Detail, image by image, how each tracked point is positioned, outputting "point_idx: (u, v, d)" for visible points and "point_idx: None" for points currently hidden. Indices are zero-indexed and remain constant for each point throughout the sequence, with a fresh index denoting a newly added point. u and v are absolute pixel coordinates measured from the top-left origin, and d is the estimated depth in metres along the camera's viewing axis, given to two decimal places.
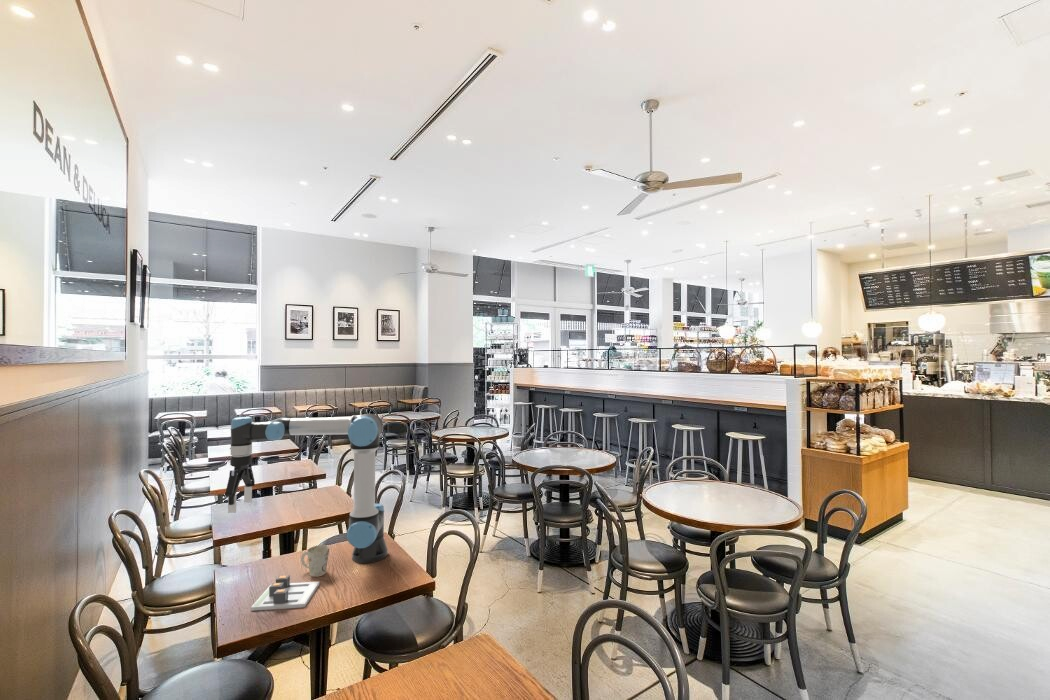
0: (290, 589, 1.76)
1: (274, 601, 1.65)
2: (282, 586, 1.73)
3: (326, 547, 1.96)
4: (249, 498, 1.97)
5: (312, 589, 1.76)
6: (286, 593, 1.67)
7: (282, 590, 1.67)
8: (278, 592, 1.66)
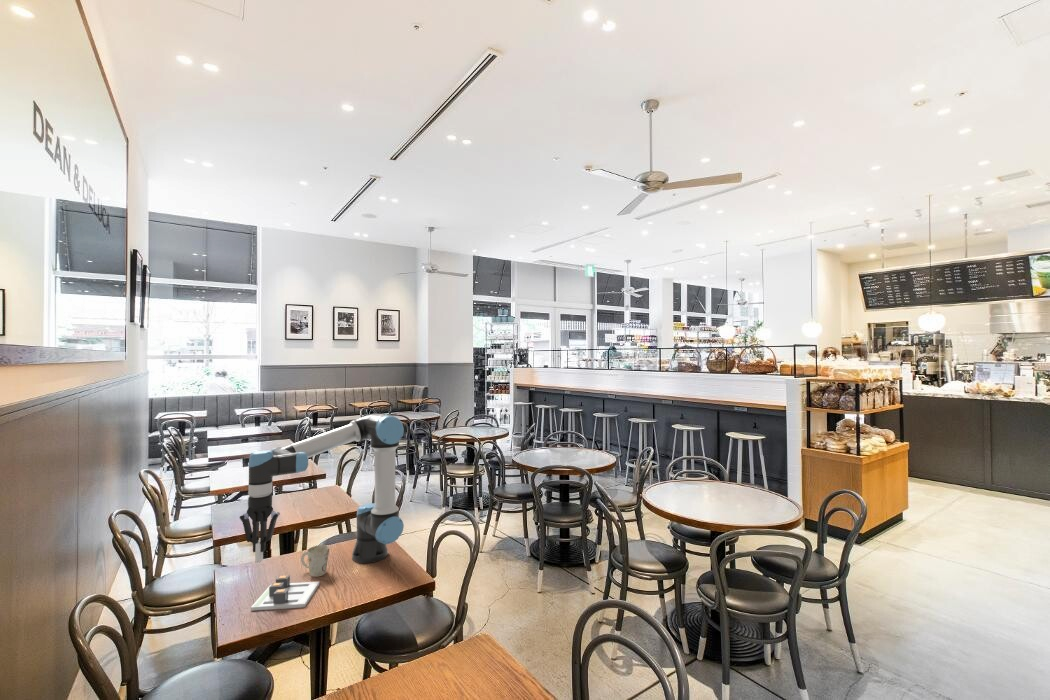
0: (290, 589, 1.76)
1: (274, 601, 1.65)
2: (282, 586, 1.73)
3: (326, 547, 1.96)
4: None
5: (312, 589, 1.76)
6: (286, 593, 1.67)
7: (282, 590, 1.67)
8: (278, 592, 1.66)
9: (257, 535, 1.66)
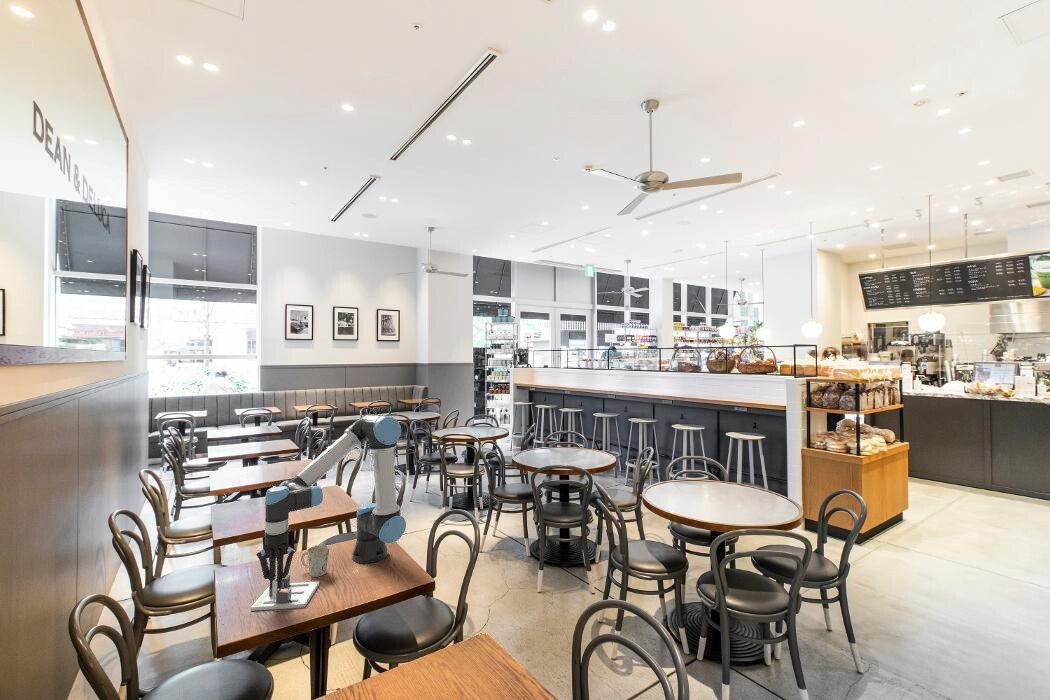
0: None
1: (277, 601, 1.65)
2: (282, 586, 1.73)
3: (326, 547, 1.96)
4: None
5: (312, 589, 1.76)
6: (289, 592, 1.67)
7: (285, 590, 1.67)
8: (281, 592, 1.66)
9: (274, 572, 1.67)
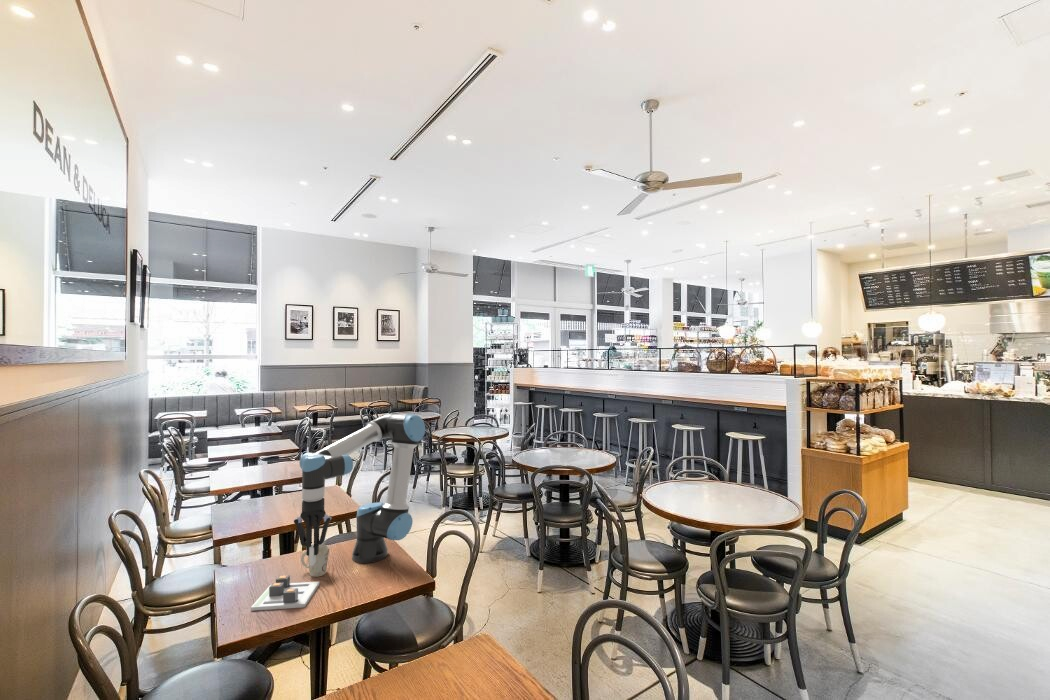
0: None
1: (284, 601, 1.66)
2: (282, 586, 1.73)
3: (326, 547, 1.96)
4: None
5: (312, 589, 1.76)
6: (296, 592, 1.67)
7: (292, 589, 1.68)
8: (288, 591, 1.66)
9: (310, 538, 1.69)
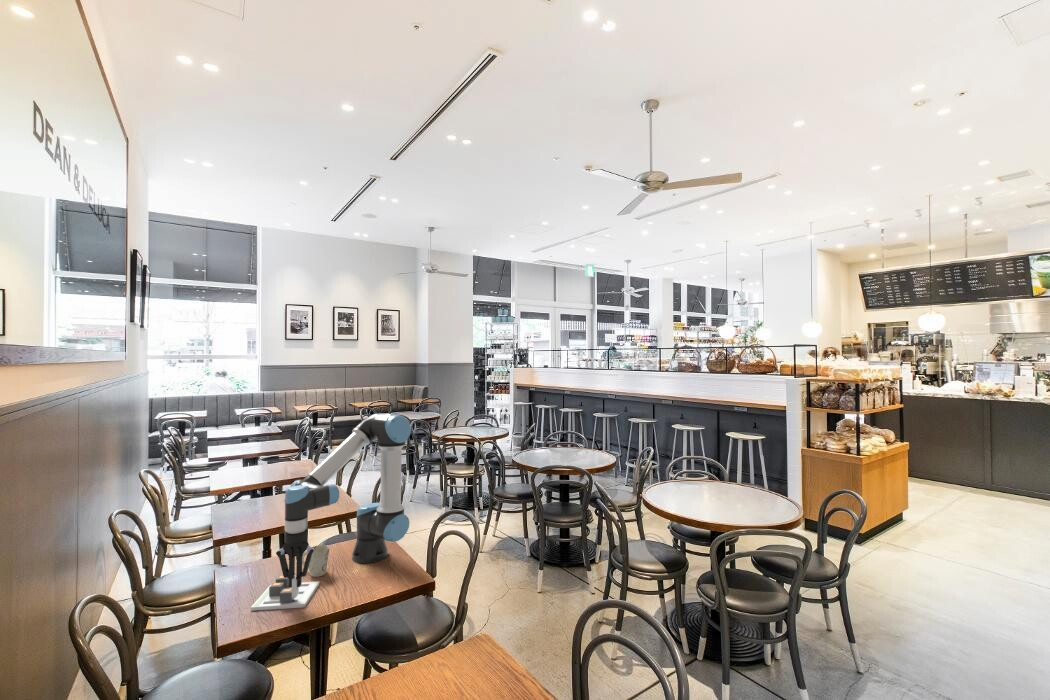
0: None
1: (280, 601, 1.66)
2: (282, 586, 1.73)
3: (326, 547, 1.96)
4: None
5: (312, 589, 1.76)
6: None
7: (288, 590, 1.67)
8: (284, 592, 1.66)
9: (293, 570, 1.68)
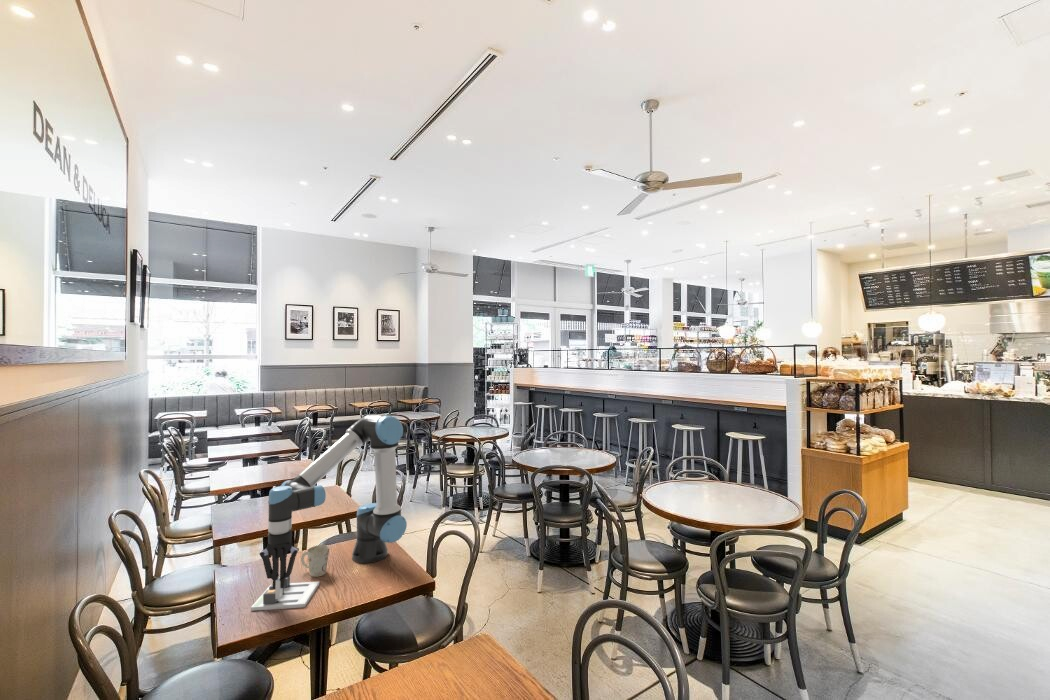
0: (290, 589, 1.76)
1: (264, 602, 1.65)
2: None
3: (326, 547, 1.96)
4: None
5: (312, 589, 1.76)
6: None
7: (272, 591, 1.67)
8: (268, 593, 1.66)
9: (277, 571, 1.67)
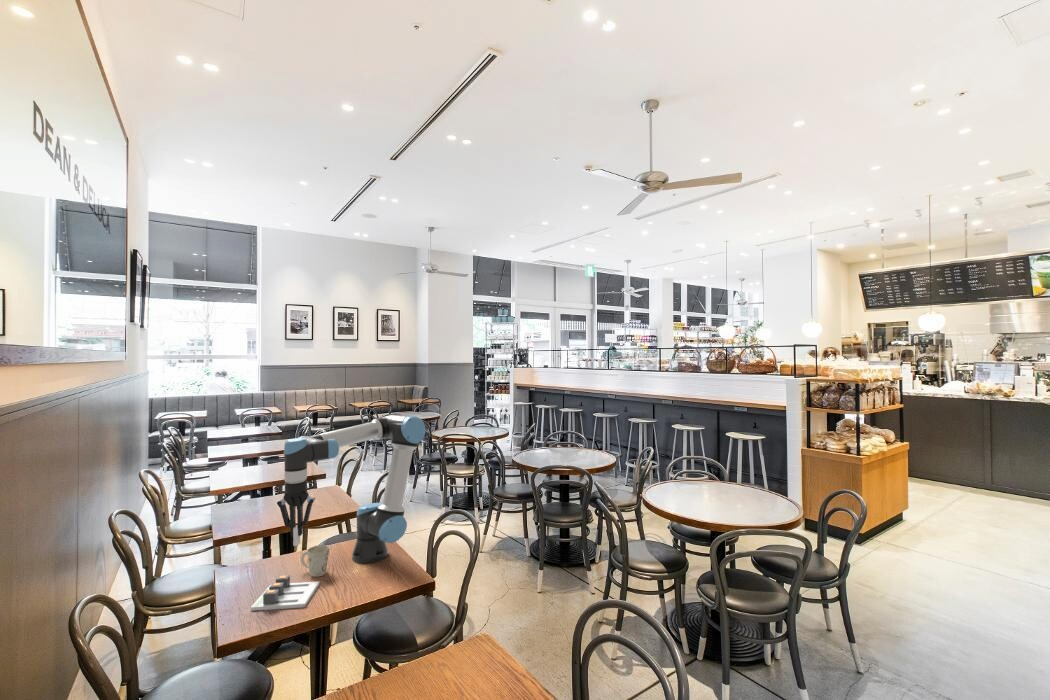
0: (290, 589, 1.76)
1: (264, 602, 1.65)
2: (282, 586, 1.73)
3: (326, 547, 1.96)
4: None
5: (312, 589, 1.76)
6: (276, 593, 1.66)
7: (272, 591, 1.67)
8: (268, 593, 1.66)
9: (294, 520, 1.72)
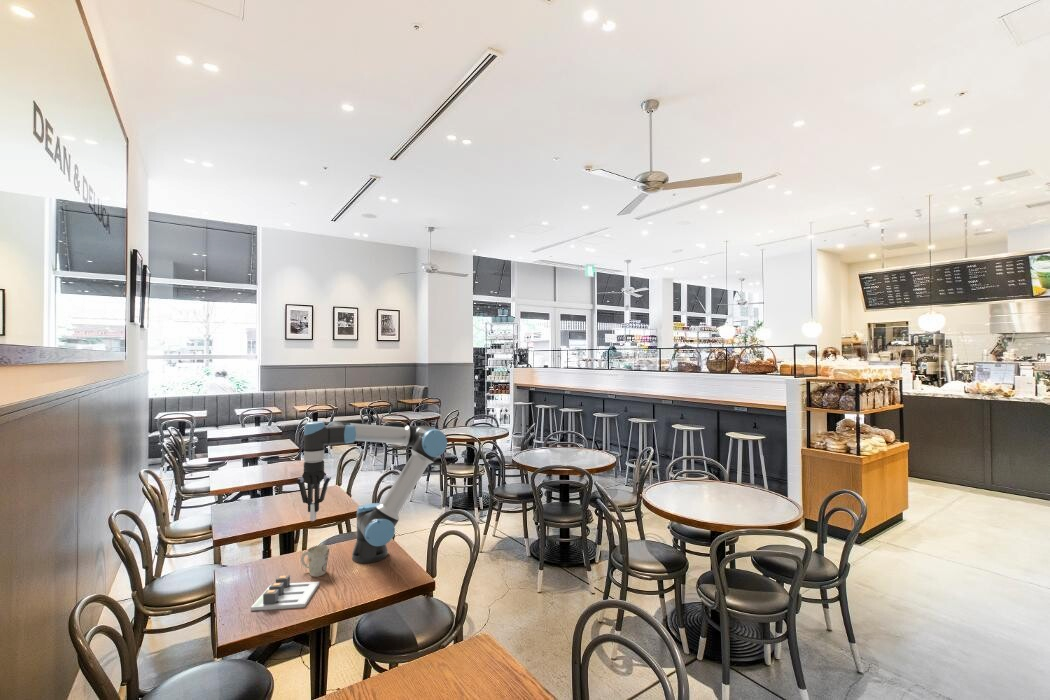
0: (290, 589, 1.76)
1: (264, 602, 1.65)
2: (282, 586, 1.73)
3: (326, 547, 1.96)
4: None
5: (312, 589, 1.76)
6: (276, 593, 1.66)
7: (272, 591, 1.67)
8: (268, 593, 1.66)
9: (311, 497, 1.86)
